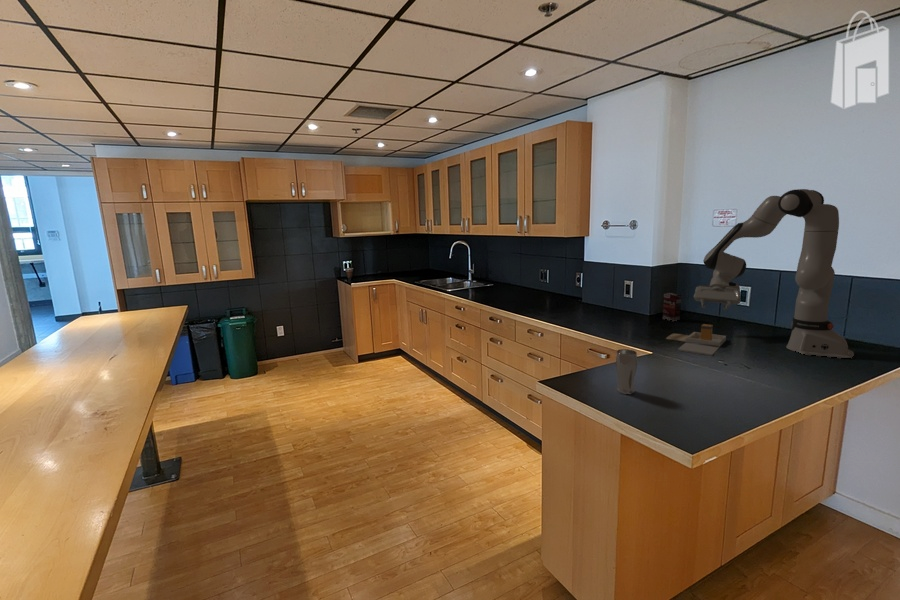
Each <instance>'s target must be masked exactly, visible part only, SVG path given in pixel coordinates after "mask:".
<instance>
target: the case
mask: <svg viewBox="0 0 900 600" xmlns="http://www.w3.org/2000/svg"><path fill="white" fill-rule="evenodd" d="M700 338H701V331H700V332H697V331H693V332H692V333H690V334H689V336H688V337H687V338H686V342H685V343H683V344H682V345H681V346H680V347H678V348H677V352H683V353H684V352H685V353H690V354H697V355H700V356H701V355H702V356H709V357H713V356H714V355H715V354H714V353H716V351H717V350H719V348H720V347H721V346H722V345H723V344H725V342H726V341H727V335H722V334H714V333H712V341H709V340H701V339H700Z"/></svg>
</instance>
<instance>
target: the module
mask: <svg viewBox="0 0 900 600" xmlns="http://www.w3.org/2000/svg"><path fill="white" fill-rule="evenodd" d="M700 333H701V338H700V339H701V340H709V341H712V334H713V324H705V323H703V324H701V326H700Z"/></svg>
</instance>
